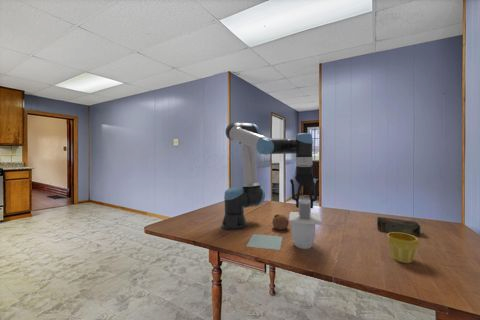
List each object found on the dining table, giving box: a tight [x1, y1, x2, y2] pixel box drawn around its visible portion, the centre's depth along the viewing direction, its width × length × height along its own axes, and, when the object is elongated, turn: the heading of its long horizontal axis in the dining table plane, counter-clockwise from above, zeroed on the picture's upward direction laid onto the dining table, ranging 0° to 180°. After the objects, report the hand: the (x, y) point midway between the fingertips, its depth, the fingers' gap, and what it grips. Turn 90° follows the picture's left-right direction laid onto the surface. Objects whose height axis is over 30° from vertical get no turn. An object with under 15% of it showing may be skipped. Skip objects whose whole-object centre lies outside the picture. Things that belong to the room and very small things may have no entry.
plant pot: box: [386, 232, 419, 264], centre depth 91 cm, size 10×10×10 cm
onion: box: [272, 213, 289, 231], centre depth 128 cm, size 10×9×10 cm
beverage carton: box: [376, 216, 421, 237], centre depth 123 cm, size 8×19×7 cm, turn 62°
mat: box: [246, 233, 283, 251], centre depth 111 cm, size 16×16×1 cm
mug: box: [290, 223, 316, 250], centre depth 106 cm, size 15×11×13 cm
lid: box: [288, 199, 322, 226], centre depth 105 cm, size 14×14×8 cm
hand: (304, 214), depth 105 cm, fingers closed on lid, 4 cm apart
